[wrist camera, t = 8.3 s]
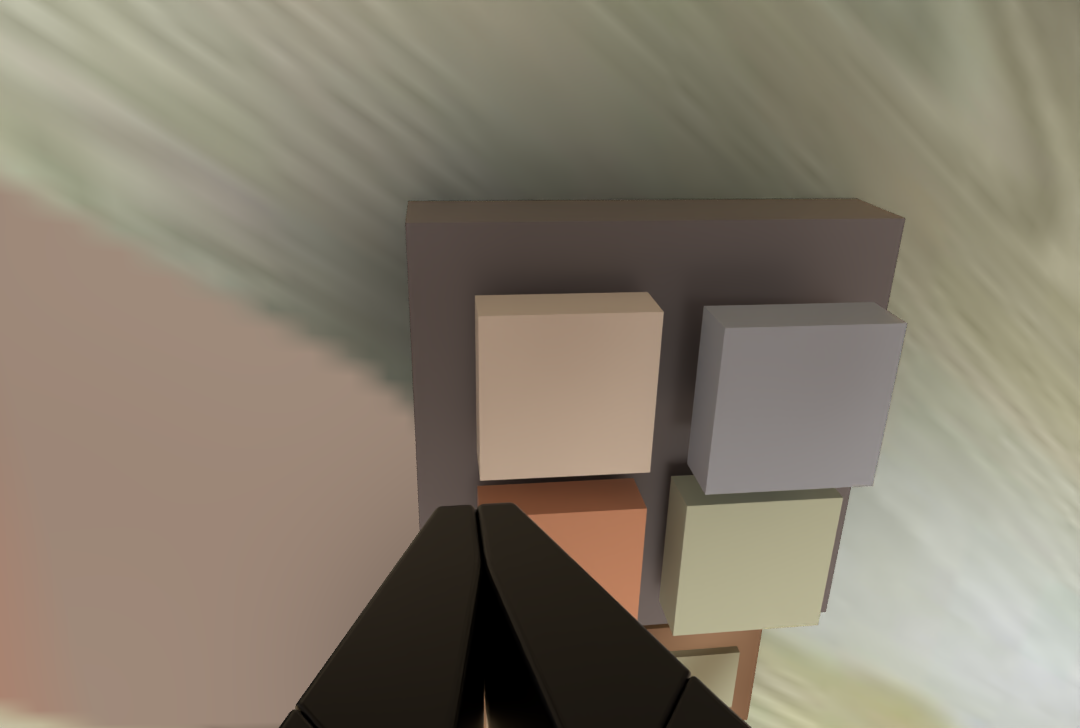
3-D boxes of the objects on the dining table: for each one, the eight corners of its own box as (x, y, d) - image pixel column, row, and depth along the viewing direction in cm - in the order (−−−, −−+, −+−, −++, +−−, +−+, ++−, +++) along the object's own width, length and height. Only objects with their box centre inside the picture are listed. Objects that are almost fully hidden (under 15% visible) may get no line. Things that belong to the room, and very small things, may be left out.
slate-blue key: (815, 265, 21) (907, 323, 17) (793, 402, 22) (872, 485, 18) (667, 267, 20) (725, 327, 16) (655, 408, 22) (705, 494, 18)
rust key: (609, 424, 23) (646, 508, 19) (602, 538, 25) (636, 639, 21) (471, 429, 23) (480, 518, 19) (473, 546, 24) (481, 650, 20)
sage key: (773, 417, 24) (843, 497, 20) (756, 529, 25) (817, 624, 21) (642, 422, 23) (687, 506, 19) (633, 536, 25) (672, 635, 21)
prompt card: (756, 608, 27) (766, 627, 26) (741, 706, 28) (750, 726, 28) (458, 630, 26) (460, 649, 25) (461, 730, 27) (462, 752, 26)
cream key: (619, 257, 21) (663, 312, 17) (611, 392, 23) (650, 472, 19) (468, 259, 21) (477, 316, 17) (471, 398, 22) (479, 480, 18)
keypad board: (857, 198, 21) (905, 218, 19) (792, 562, 26) (825, 611, 24) (407, 201, 20) (405, 223, 18) (425, 586, 25) (425, 641, 22)
